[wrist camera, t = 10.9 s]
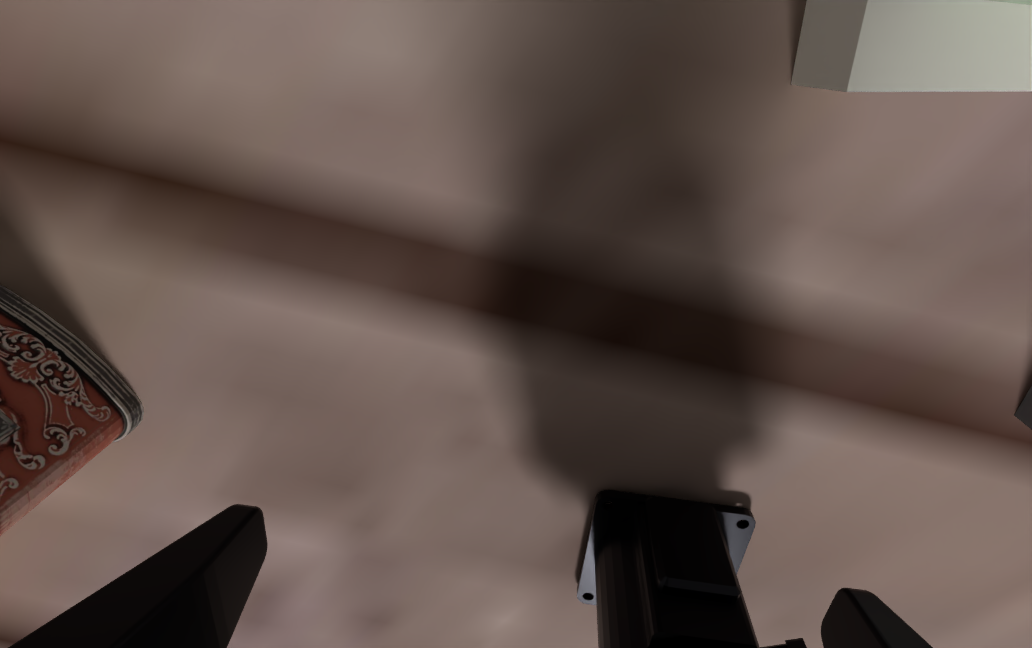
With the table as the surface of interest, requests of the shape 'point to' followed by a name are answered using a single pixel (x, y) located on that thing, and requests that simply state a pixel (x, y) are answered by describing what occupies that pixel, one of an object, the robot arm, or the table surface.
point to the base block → (915, 46)
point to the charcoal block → (1026, 410)
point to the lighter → (51, 406)
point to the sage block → (1016, 1)
